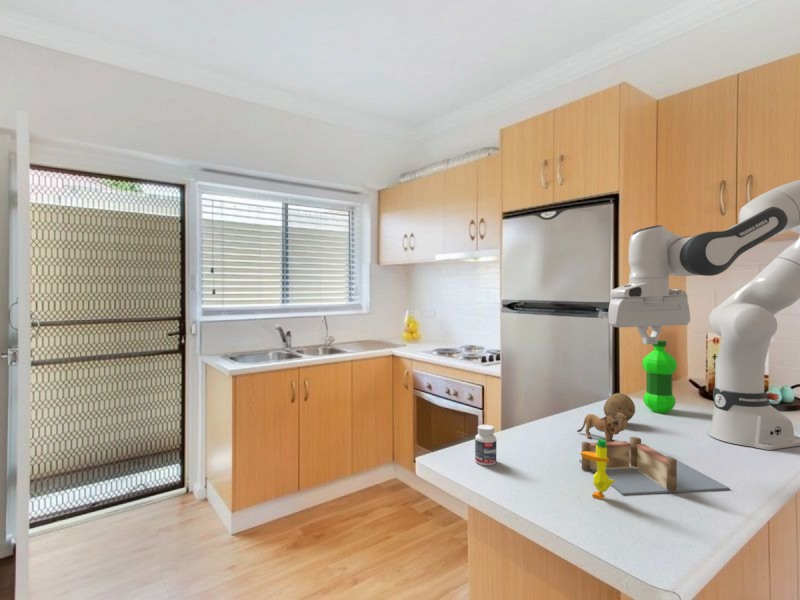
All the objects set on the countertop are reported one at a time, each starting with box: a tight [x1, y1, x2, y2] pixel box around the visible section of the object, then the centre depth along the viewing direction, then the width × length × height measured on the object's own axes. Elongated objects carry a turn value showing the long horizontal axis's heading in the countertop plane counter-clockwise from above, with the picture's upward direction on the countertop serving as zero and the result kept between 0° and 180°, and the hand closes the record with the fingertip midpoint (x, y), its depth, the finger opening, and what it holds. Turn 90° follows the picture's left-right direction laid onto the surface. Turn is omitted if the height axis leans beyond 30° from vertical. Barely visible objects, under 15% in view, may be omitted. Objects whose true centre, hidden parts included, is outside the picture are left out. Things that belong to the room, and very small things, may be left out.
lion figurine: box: [576, 413, 629, 442], centre depth 122 cm, size 15×5×9 cm, turn 37°
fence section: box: [581, 436, 642, 472], centre depth 102 cm, size 15×2×7 cm, turn 95°
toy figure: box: [579, 438, 615, 500], centre depth 88 cm, size 7×4×12 cm, turn 50°
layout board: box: [579, 455, 731, 496], centre depth 99 cm, size 24×18×1 cm
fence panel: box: [636, 443, 678, 491], centre depth 95 cm, size 12×2×6 cm, turn 2°
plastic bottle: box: [642, 339, 678, 414], centre depth 151 cm, size 10×10×25 cm
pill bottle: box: [474, 424, 497, 467], centre depth 107 cm, size 5×5×9 cm
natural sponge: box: [603, 392, 636, 421], centre depth 136 cm, size 9×9×10 cm
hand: (649, 343), depth 109 cm, fingers closed
